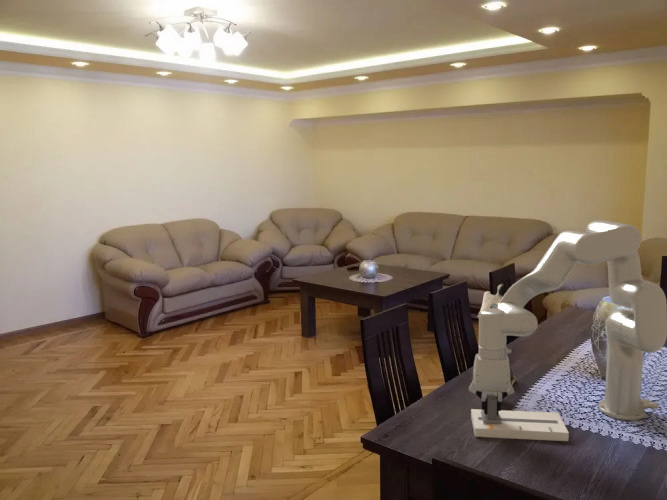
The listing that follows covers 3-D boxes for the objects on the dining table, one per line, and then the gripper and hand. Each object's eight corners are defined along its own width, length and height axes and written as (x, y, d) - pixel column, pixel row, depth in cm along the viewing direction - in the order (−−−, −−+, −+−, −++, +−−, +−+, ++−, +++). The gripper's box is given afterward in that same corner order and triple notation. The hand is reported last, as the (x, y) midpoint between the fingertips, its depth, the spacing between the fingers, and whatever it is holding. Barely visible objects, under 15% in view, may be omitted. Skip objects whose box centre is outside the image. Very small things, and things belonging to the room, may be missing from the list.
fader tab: (498, 413, 160) (498, 392, 159) (501, 423, 154) (501, 401, 153) (480, 413, 161) (481, 391, 160) (483, 422, 155) (483, 400, 154)
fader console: (557, 420, 161) (557, 412, 161) (568, 441, 149) (568, 432, 149) (471, 416, 165) (471, 408, 164) (475, 436, 153) (475, 428, 153)
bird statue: (513, 396, 178) (516, 292, 172) (473, 388, 184) (475, 288, 179) (522, 377, 192) (525, 281, 187) (485, 371, 199) (487, 278, 193)
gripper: (519, 348, 157) (517, 408, 160) (462, 347, 159) (461, 405, 162) (524, 357, 150) (522, 420, 153) (464, 356, 152) (463, 417, 155)
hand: (490, 412), depth 157 cm, fingers closed on fader tab, 2 cm apart
